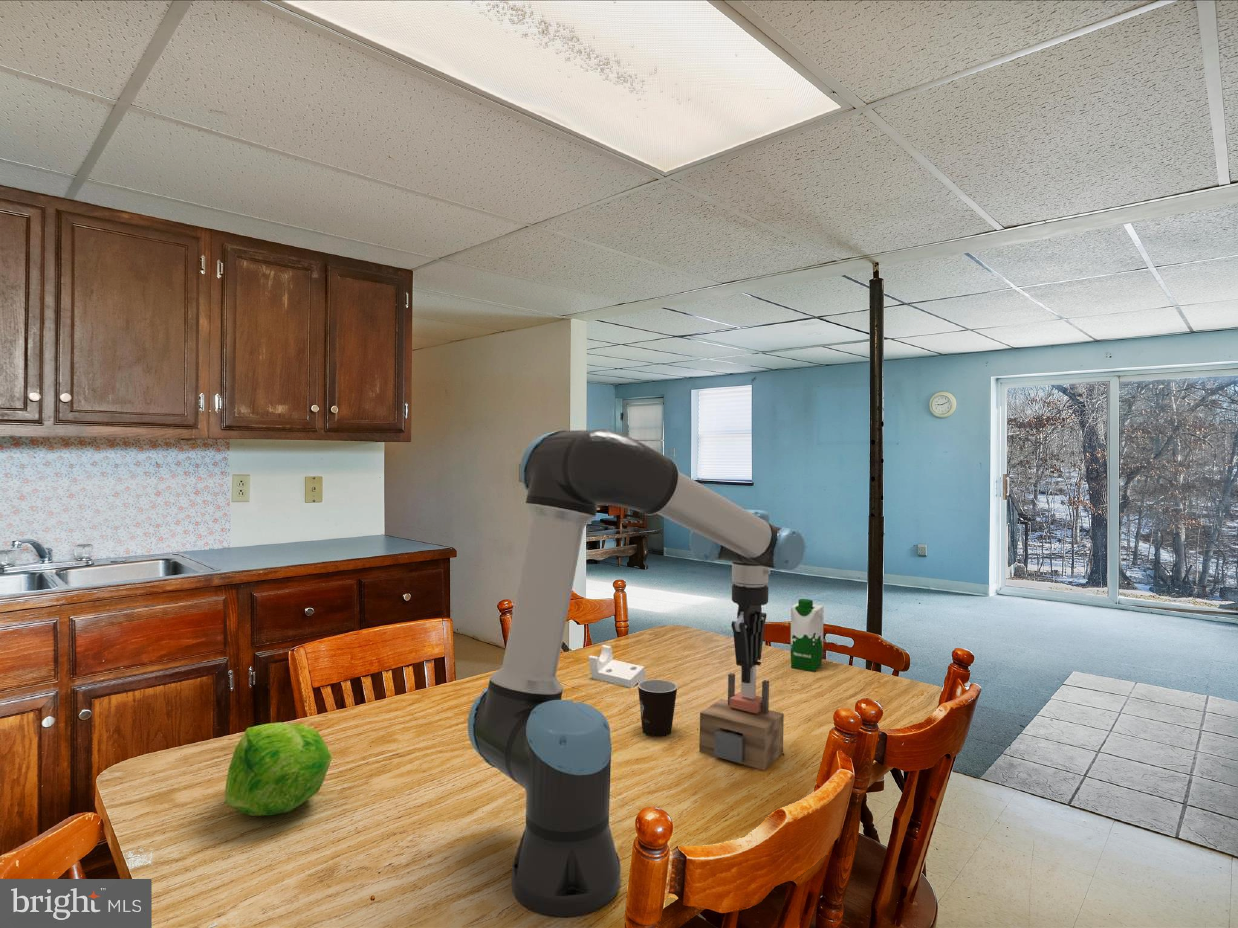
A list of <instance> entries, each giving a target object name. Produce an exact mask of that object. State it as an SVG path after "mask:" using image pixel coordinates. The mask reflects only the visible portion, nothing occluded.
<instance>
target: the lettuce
mask: <svg viewBox="0 0 1238 928" xmlns="http://www.w3.org/2000/svg"><path fill="white" fill-rule="evenodd" d="M332 759H333V756H332V754H331V751H330V749H329V746H328V745H327V743H326V742H325V740H324V739H323V737H322V736H321V735H320V733H319V731H318V730H316V729H314V728H312V727H309V726H306V725H304V724H297V723H286V722H281V721H280V722H272V723H271V722H270V723H265V724H264V723H263V724H260V725H255V726H251V727H246V730H245V731H244V734H242V736H241V738H240V740H239V741H238V743H237V745H236V746H235V749H234V752H233V754H232V758H231V761H230V763H229V766H228V769H227V770H228V771H227V777H226V782H225V791H224V792H225V793H224V795H225V796H224V803H225V804H227V806H230V807H231V808H234V809H235V810H237V811H239V812H241V813H242V814H246V815H248V816H250V817H251V816H274V815H279V814H287V813H290V812H291V811H292V810H294V809H296V808H298V807H299V806H300V805H303V804H304V802H306V801H308V800H309V799H310V798H312V797H314V795H317V793H319V791H320V789H321V787H323V784H324V781H325V778H326V776H327V773H328V770H329V767H330V765H331V762H332Z"/></svg>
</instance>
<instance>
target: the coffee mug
mask: <svg viewBox="0 0 1238 928" xmlns="http://www.w3.org/2000/svg"><path fill="white" fill-rule="evenodd" d="M637 689H638V690H637V691H638V699H639V701H638V702H639V711H640V720H641V721H640V722H641V731H642V733H643V734H644V735H646V736H648V737H652V738H664V737H665V738H666V737H668V736H670V735H671V734H672V730H673V729H672V728H673V722H674V715H675V708H676V707H675V706H676V699H677V691H678V685H677V684H676V683H674V682H673V681H670V680H665V679H657V678H656V679H645V680H644V681H642V682H640V683H639V684H637Z"/></svg>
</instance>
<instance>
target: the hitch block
mask: <svg viewBox="0 0 1238 928" xmlns="http://www.w3.org/2000/svg"><path fill="white" fill-rule="evenodd" d="M727 677H728V678H727V680H728V681H727V699H722V698H721V699H719V700H717V701H716V702H714V703H713V704H711V705H710V706H708V707H706V708H705V709H703V710H702V711H700V712H699V743H698V744H699V748H698V749H699V752H700V753H702V754H705V755H708V756H709V755H710V756H713V757H717V758H721V759H724V760H728V761H730V762H735V763H737V764H740V765H744V766H747V767H751V768H753V769H754V768H755V769H757V770H760V771H761V770H762V771H765V770H766V769H767V768H768V767H770V765H772V763H773V762H775V761H776V760H777V759H778V758H779V757H780V756H781V755H782V754H783V753H784V720H785V719H784V715H785V713H783V712H779V711H774V710H769V709H770V708H769V707H770V706H769V703H770V702H769V700H770V680H768V679H767V680H766V679H764V680H762V682H761V697H762V710H761V711H759V712H758V713H757V714H756V713H752V712H748V711H744V710H740V709H736V708H732V707H730V698H731V697H733V696H734V695H736V694H735V693H736V690H735V689H736V674H735V673H733V672H730V673H728V674H727ZM717 729H718V730H722V731H726V732H730V733H733V732H739V733H742V734H743V736H745V758H744V762H743V763H739V762H736V761H732V760H729V759H726V758H722V757H719V756H715V755H714V731H715V730H717Z"/></svg>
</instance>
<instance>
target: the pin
mask: <svg viewBox="0 0 1238 928" xmlns="http://www.w3.org/2000/svg"><path fill="white" fill-rule="evenodd" d="M714 755H715V756H714V757H716V756H719V757H718V758H720V757H722V758H721V759H723V758H726V759H729V760H728V761H730V760H732V761H731V762H733V761H736V762H735V763H737V762H739V763H738V764H740V763H743V762H744V758H745V736H743V734H742V733H739V732H733V733H730V732H726V731H722V730H718V729H717V730H715V731H714ZM726 759H725V760H726Z"/></svg>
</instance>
